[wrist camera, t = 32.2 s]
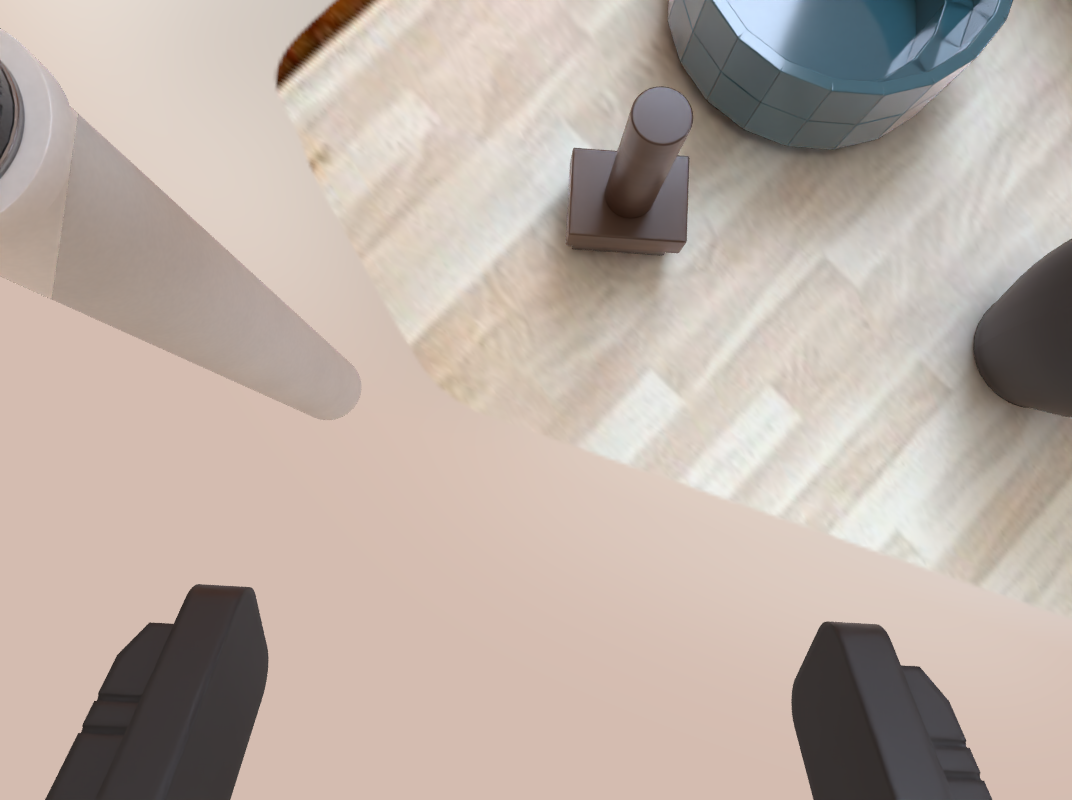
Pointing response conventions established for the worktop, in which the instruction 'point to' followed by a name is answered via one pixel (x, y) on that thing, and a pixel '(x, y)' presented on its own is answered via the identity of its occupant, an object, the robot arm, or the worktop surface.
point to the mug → (1031, 337)
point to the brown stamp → (634, 182)
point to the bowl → (828, 61)
